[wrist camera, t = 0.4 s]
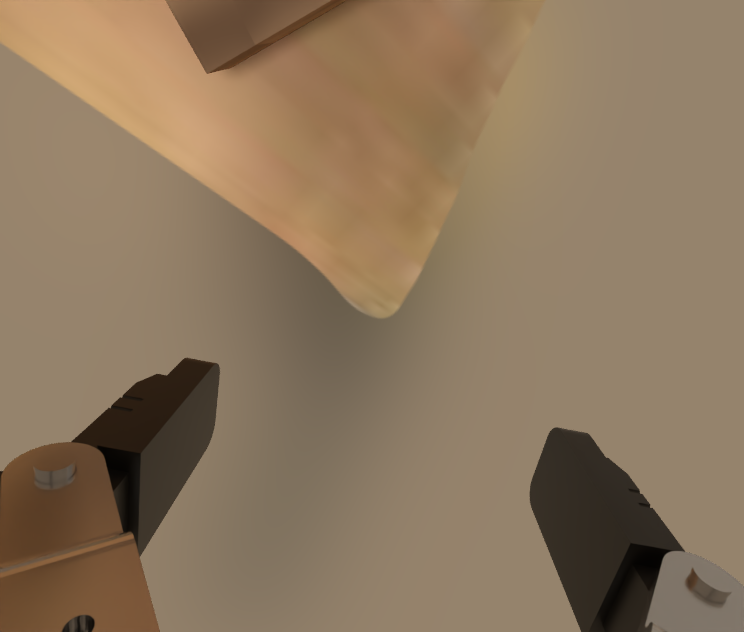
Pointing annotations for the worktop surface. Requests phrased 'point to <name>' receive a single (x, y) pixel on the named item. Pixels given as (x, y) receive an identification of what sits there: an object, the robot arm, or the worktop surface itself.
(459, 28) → the worktop surface
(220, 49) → the walnut socket block
